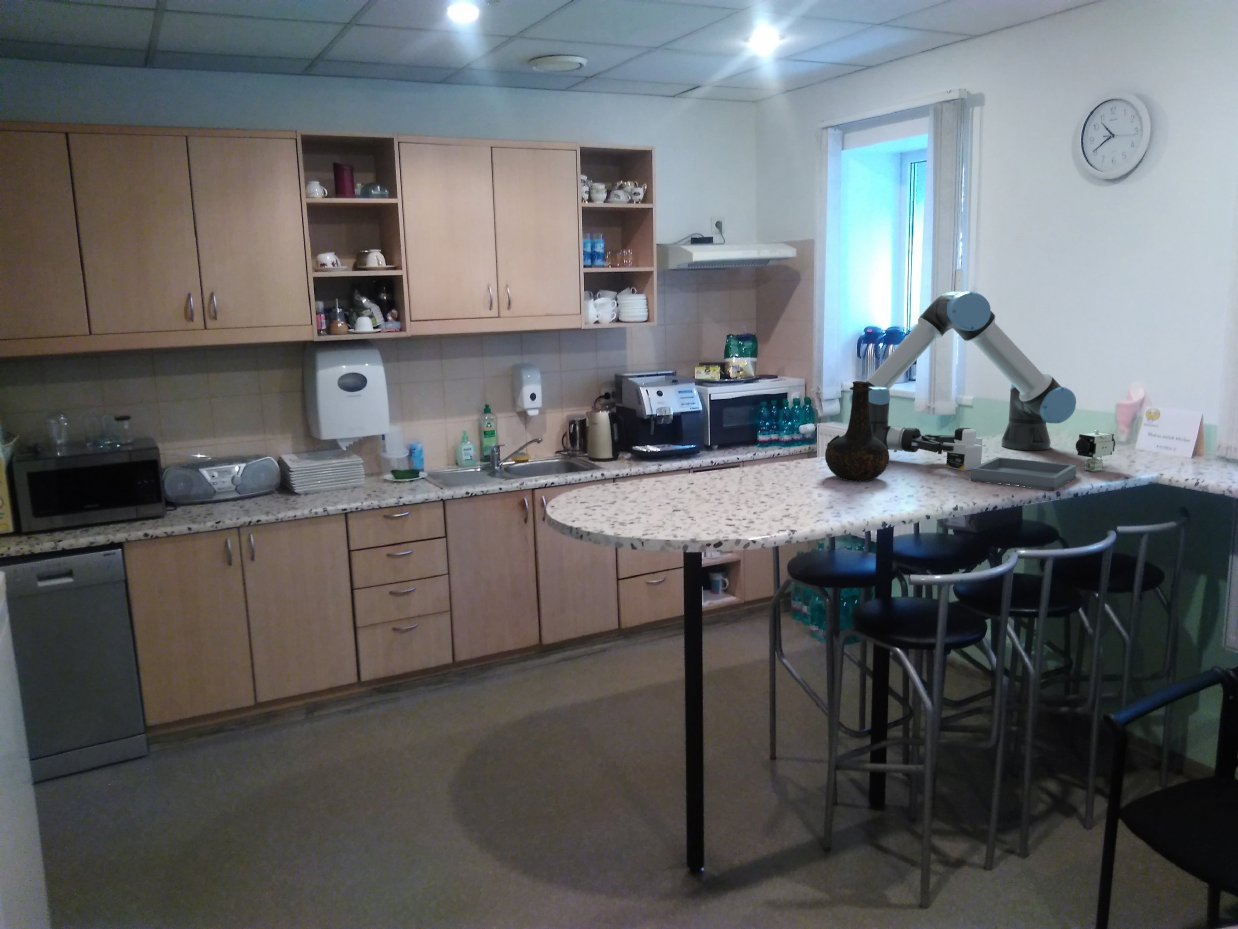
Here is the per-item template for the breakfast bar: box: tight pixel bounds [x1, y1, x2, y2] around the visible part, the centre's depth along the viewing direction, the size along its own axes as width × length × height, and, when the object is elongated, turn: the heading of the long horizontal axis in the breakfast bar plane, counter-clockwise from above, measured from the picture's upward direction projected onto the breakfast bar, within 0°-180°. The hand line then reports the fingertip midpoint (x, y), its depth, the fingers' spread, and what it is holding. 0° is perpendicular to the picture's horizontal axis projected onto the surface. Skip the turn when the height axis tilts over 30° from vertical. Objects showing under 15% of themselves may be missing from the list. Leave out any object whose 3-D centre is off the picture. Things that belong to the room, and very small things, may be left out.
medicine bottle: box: [945, 427, 983, 472], centre depth 274 cm, size 7×7×12 cm
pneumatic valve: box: [1075, 429, 1116, 473], centre depth 267 cm, size 6×12×12 cm, turn 117°
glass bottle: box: [824, 380, 890, 482], centre depth 260 cm, size 18×18×28 cm
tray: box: [970, 456, 1077, 492], centre depth 258 cm, size 22×22×4 cm
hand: (973, 446), depth 272 cm, fingers open, 13 cm apart
